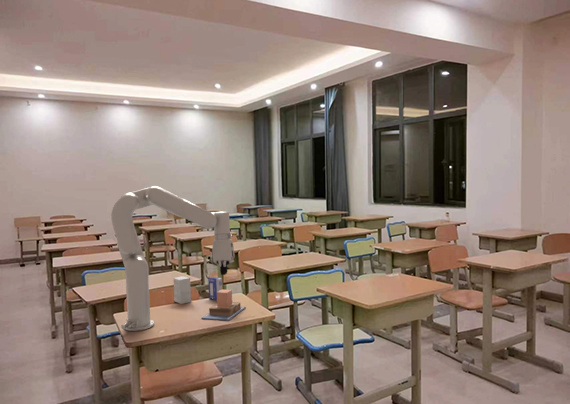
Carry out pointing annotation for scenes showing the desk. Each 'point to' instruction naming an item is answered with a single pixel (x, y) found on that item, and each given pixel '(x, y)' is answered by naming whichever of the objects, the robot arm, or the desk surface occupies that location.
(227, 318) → the board
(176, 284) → the small box
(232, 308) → the walnut base block
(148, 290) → the robot arm
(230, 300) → the terracotta block
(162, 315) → the desk surface
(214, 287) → the walkman
